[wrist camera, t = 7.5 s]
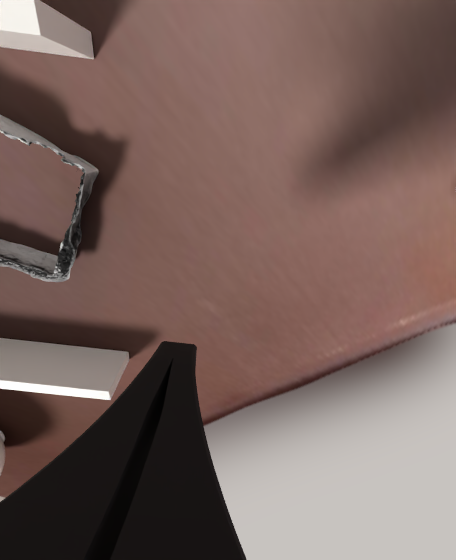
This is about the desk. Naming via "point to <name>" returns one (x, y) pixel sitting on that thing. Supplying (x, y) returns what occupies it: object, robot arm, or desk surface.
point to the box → (37, 355)
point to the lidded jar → (2, 451)
